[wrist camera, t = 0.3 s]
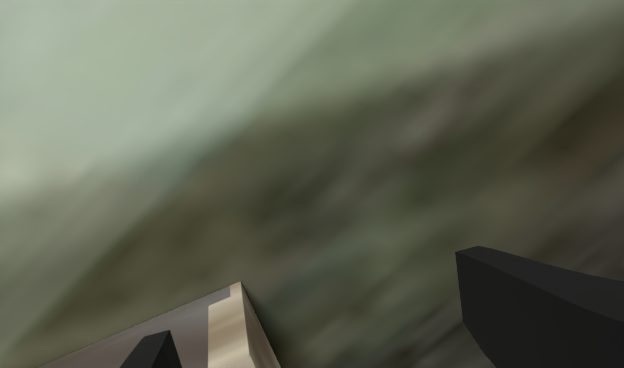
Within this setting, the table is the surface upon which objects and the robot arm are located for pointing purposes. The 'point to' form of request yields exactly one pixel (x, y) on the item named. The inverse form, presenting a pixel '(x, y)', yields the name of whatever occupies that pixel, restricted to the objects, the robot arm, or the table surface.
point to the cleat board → (191, 336)
